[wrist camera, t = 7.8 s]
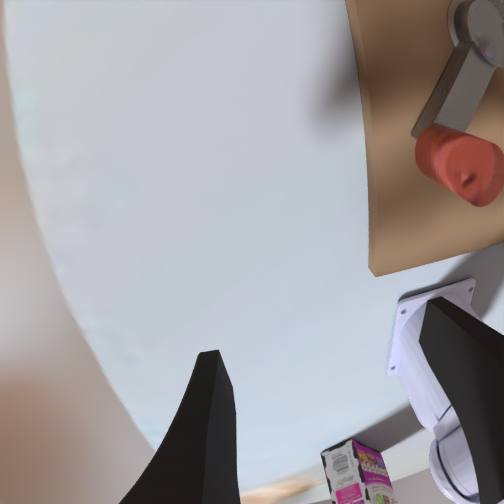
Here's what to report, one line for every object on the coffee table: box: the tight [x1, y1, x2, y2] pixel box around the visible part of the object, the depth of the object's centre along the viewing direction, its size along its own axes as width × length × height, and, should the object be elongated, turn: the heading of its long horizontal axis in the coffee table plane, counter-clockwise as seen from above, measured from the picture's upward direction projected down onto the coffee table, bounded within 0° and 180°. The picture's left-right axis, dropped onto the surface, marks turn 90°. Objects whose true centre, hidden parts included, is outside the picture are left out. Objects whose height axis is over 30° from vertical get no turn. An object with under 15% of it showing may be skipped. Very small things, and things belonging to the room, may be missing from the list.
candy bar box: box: [321, 439, 398, 504], centre depth 30 cm, size 11×5×16 cm, turn 40°
